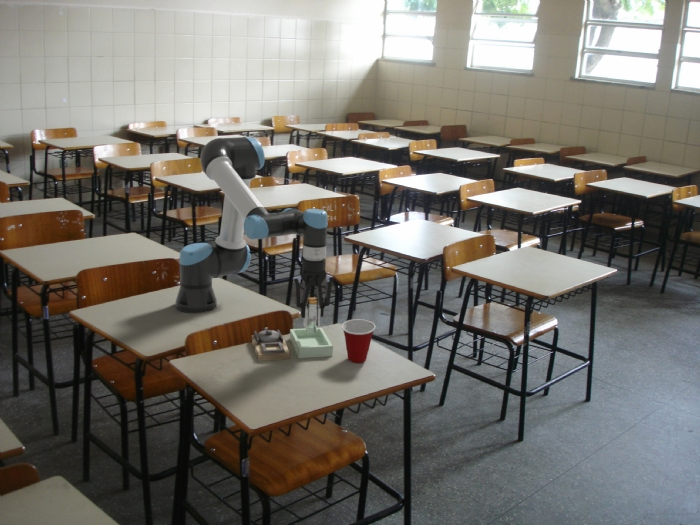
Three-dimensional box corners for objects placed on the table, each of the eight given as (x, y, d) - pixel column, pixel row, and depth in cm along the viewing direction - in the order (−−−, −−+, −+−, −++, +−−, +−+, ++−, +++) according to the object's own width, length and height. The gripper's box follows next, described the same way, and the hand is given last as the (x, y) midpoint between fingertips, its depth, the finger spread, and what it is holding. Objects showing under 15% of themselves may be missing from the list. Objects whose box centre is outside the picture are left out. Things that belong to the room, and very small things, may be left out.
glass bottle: (305, 329, 234) (306, 297, 231) (315, 328, 235) (316, 297, 232) (307, 333, 231) (308, 301, 228) (318, 332, 232) (319, 300, 229)
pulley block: (251, 340, 237) (251, 327, 236) (281, 339, 240) (281, 325, 239) (258, 360, 223) (258, 346, 221) (289, 358, 225) (290, 344, 224)
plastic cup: (332, 360, 226) (334, 325, 223) (352, 350, 235) (354, 316, 231) (360, 370, 220) (363, 334, 217) (379, 359, 229) (382, 324, 225)
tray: (289, 338, 241) (290, 329, 240) (321, 337, 244) (321, 327, 243) (299, 358, 226) (299, 348, 225) (332, 356, 229) (332, 346, 228)
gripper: (290, 261, 221) (288, 331, 227) (342, 260, 225) (338, 329, 232) (286, 255, 228) (284, 323, 234) (336, 254, 232) (333, 320, 238)
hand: (311, 326), depth 233 cm, fingers closed on glass bottle, 3 cm apart
